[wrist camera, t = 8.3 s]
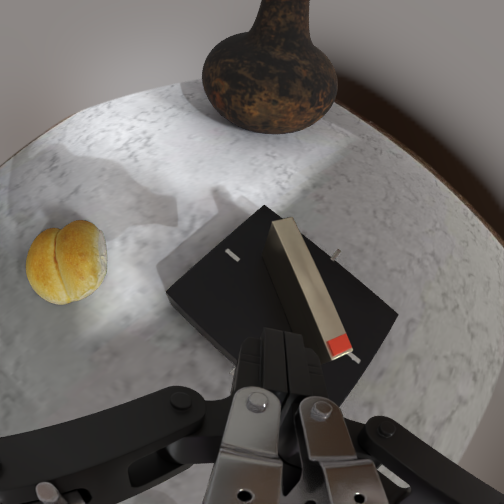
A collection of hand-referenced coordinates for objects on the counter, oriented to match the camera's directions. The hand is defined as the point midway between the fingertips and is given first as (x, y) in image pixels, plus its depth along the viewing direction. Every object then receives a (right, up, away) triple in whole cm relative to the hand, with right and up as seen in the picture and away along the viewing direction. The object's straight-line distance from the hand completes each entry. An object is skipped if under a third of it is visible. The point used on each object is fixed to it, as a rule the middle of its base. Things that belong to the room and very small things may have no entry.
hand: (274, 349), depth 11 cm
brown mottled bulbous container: (+1, +24, +28) cm, 37 cm away
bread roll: (-19, +2, +14) cm, 24 cm away
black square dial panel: (+2, -2, +14) cm, 14 cm away
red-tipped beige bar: (+2, 0, +11) cm, 12 cm away
